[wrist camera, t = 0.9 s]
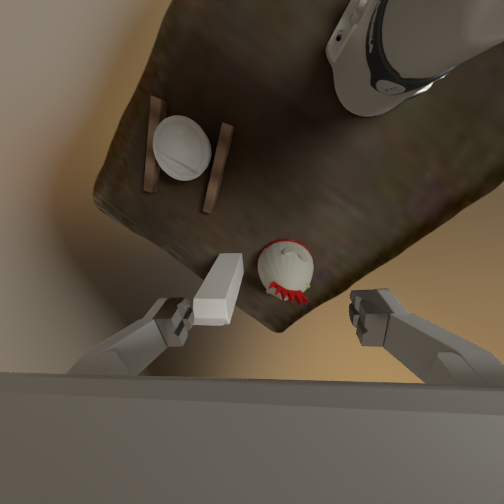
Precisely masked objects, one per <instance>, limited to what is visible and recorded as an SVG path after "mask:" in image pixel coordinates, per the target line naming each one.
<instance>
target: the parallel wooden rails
mask: <svg viewBox="0 0 504 504" xmlns="http://www.w3.org/2000/svg"><path fill="white" fill-rule="evenodd" d="M167 105H168V102H166V101H164V100H162V99H159V98H156V97H154V96H151V100H150V113H149V126H148V138H147V151H146V164H145V177H144V190H145V191H148V192H150V193H154V192H157V191H158V186H159V177H160V168H161V167H160V166H159V164H158V162H157V160H156V158H155V155H154V151H153V137H154V133H155V130H156V128H157V126H158V125H159V124H160V123H161V122H162V121H163V120H164V119H166V114H167ZM234 129H235V128H234V127H233V126H231V125H228V124H226V123H223V122H222V126H221V130H220V135H219V139H218V144H217V148H216V153H215V158H214V162H213V167H212V171H211V176H210V180H209V185H208V189H207V194H206V198H205V203H204V207H203V211H204V212H207V213H210V214H212V213H213V212H214V210H215V206H216V201H217V197H218V193H219V189H220V185H221V181H222V177H223V173H224V169H225V165H226V161H227V157H228V153H229V149H230V145H231V141H232V137H233V133H234Z"/></svg>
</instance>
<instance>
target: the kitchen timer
mask: <svg viewBox="0 0 504 504" xmlns="http://www.w3.org/2000/svg"><path fill="white" fill-rule="evenodd" d="M313 269H314V266H313V260H312V256H311V254H310V252H309V250H308V249H307V248H306V247H305V246H304V245H303V244H302V243H300V242H298V241H296V240H291V239H279V240H276V241H273V242H271V243H269V244H268V245H267V246H265V247H264V249H263V250H262V251H261V253H260V256H259V258H258V273H259V276H260V279H261V281H262V283H263V285H264V286H265V288H266V289H267V290H266V293H268V294H272V295H274V296H276V297H278V298H280V299H282V300H283V301H284V300H287V299H289V302H290V303H291V302H292V300H293V298H295V300H296V301H297V303H298V305H299V306H300V304H301V302H302V301H303V302H304V303H305V304H306V303H307V301H308V300H307V298H306V297H305V295H304V294H303V292H304V291H305V290H306V289H307V288H309V287H310V282H311V278H312V274H313Z"/></svg>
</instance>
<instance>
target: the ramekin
mask: <svg viewBox="0 0 504 504" xmlns="http://www.w3.org/2000/svg"><path fill="white" fill-rule="evenodd" d="M153 151H154V155H155V158H156V160H157V162H158V164H159V166H160V167H161V168H162V169H163V171H164V172H165V173H167V174H168V175H169V176H171V177H172V178H174V179H177V180H181V181H189V180H193V179H195V178H197V177H199V176H200V175H201V174H202V173H203V172H204V171H205V170H206V168H207V167H208V165H209V163H210V161H211V155H212V150H211V144H210V141H209V139H208V137H207V136H206V134H205V133H204V131H203V130H202V128H201V127H200V126H199V125H198V124H197V123H196V122H195V121H193V120H191V119H190V118H187V117H184V116H179V115H175V116H170V117H168V118H166V119H164V120H163V121H162V122H161V123H160V124H159V125H158V126H157V128H156V130H155V133H154V137H153Z"/></svg>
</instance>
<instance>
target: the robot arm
mask: <svg viewBox="0 0 504 504" xmlns="http://www.w3.org/2000/svg"><path fill="white" fill-rule="evenodd" d="M338 36H339V37H340V39H341V40H340V41H337V40H336V37H338ZM503 41H504V0H350V2H349V4H348V6H347V8H346V9H345V11H344V13H343V15H342V17H341V19H340V21H339V22H338V24H337V26H336V28H335V30H334V32H333V34H332V35H331V37H330V39H329V41H328V43H327V45H326V49H325V52H326V56H327V58H328V61H329V63H330V65H331V66H332V69H333V76H334V86H335V90H336V94H337V96H338V98H339V100H340V102H341V103H342V105H343V106H344V107H345V108H346V109H347V110H348V111H350V112H351V113H353V114H355V115H358V116H364V117H371V116H377V115H380V114H383V113H385V112H387V111H389V110H391V109H393V108H394V107H396V106H397V105H398V104H400V103H401V102H402V101H404V100H405V99H407V98H409V97H413V96H416V95H419V94H421V93H423V92H425V91H426V90H428V89H429V88H430V87H431V85H432V84H433V82H434V81H436V80H439V79H441V78H442V77H444V76H445V75H447V74H448V73H450V72H451V71H453V70H454V69H455V68H457V67H458V66H459V65H460V64H462V63H463V62H464V61H466V60H468V59H470V58H472V57H474V56H476V55H478V54H480V53H482V52H484V51H486V50H488V49H490V48H492V47H493V46H495V45H497V44H499V43H501V42H503ZM350 299H351V301H352V303H351V304H350V305H349V315H350V319H351V322H352V325H353V326H354V327H356V328H357V331H356V334H357V336H358V338H359V341H360V343H361V345H362V346H379V347H384V348H385V349H386V350H387V351H388V352H389V353H391V354H392V355H393V356H394V357H395V358H396V359H397V360H399V361H400V362H401V363H402V364H403V365H405V366H406V367H407V368H408V369H409V370H410V371H412V372H413V373H414V374H415V375H416V376H417V377H419V378H420V379H421V380H422V381H423V382H425V383H426V384H425V383H387V382H351V381H314V380H313V381H311V380H276V379H274V380H273V379H237V378H200V377H162V376H137V375H138V374H139V373H140V372H141V371H142V370H143V369H144V368H145V367H146V366H148V365H149V364H150V363H151V362H152V361H153V360H154V359H155V358H156V357H157V356H158V355H159V354H160V353H161V352H163V351H164V350H165V349H166V348H167V347H171V346H183V344H184V342H185V340H186V338H187V336H188V333H187V331H188V330H190V329H191V328H192V326H193V324H194V312H193V310H192V309H191V308H190V307H189V306H190V304H191V303H190V301H189V299H188V298H186V297H185V298H160V299H158V300H157V302H156V303H155V304H154V305H153V307H152V308H151V309H150V310H149V312H148V313H147V314H146V315H145V317H144V318H143V319H142V320H138V321H137V322H135V323H133V324H131V325H130V326H128V327H126V328H125V329H123V330H121V331H120V332H118V333H116V334H115V335H113V336H111V337H110V338H108V339H106V340H104V341H103V342H101V343H99V344H98V345H96V346H95V347H93V348H91V349H89V350H88V351H87V352H86V353H85V354H84V355H83V356H82V357H81V358H80V359H79V361H78V362H77V363H76V364H75V365H74V366H73V367H72V368H71V369H70V370H69V371H68V372H67V373H66V374H47V373H10V372H0V504H504V365H503V364H502V363H501V362H500V361H499V360H498V359H497V358H496V357H495V356H494V355H493V354H492V353H490V352H489V351H487V350H485V349H483V348H481V347H479V346H477V345H475V344H473V343H471V342H469V341H467V340H465V339H463V338H461V337H459V336H457V335H455V334H453V333H451V332H449V331H447V330H445V329H443V328H441V327H439V326H437V325H435V324H433V323H431V322H429V321H427V320H425V319H423V318H421V317H419V316H417V315H415V314H413V313H408V312H407V310H406V309H405V308H404V307H403V306H402V304H401V303H400V302H399V301H398V300H397V298H396V297H395V296H394V295H393V294H392V292H391V291H390V290H389V289H386V288H384V289H375V290H354V291H351V293H350Z"/></svg>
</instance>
